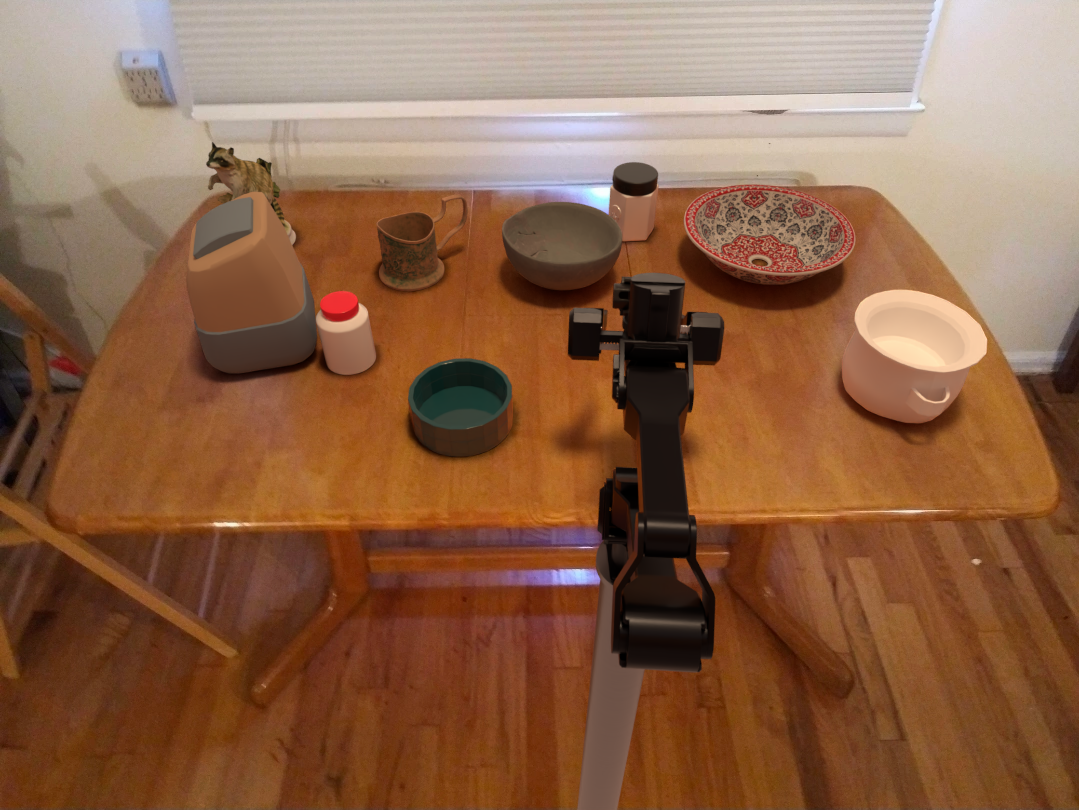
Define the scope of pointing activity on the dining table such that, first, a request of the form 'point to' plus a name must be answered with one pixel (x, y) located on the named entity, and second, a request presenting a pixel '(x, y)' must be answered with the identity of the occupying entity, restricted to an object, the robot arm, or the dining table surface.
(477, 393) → the round teal dish
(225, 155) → the figurine
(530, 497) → the dining table surface
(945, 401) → the pot
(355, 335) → the pill bottle
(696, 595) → the robot arm
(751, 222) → the ceramic bowl
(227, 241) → the trash can
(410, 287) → the mug
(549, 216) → the bowl
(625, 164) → the jar
